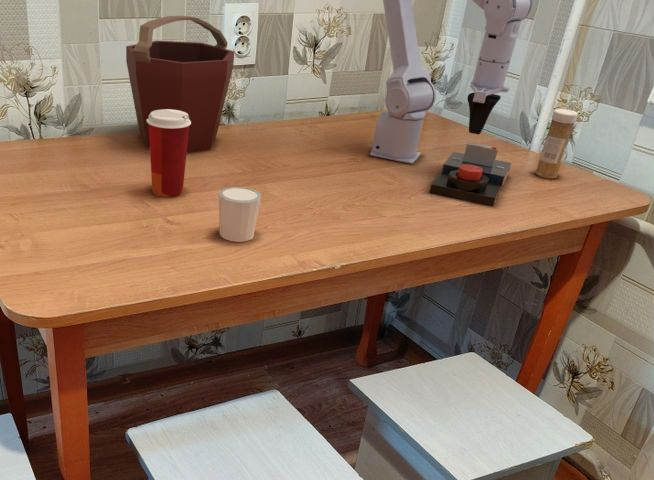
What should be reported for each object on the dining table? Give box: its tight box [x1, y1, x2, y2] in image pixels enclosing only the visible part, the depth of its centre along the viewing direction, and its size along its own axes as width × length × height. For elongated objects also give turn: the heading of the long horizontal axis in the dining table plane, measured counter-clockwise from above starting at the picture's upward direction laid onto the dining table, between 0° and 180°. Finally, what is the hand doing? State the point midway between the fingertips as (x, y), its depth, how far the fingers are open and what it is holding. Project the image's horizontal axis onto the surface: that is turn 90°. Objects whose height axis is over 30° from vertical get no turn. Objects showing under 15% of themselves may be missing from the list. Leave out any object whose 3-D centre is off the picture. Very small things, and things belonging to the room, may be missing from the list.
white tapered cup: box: [218, 186, 262, 243], centre depth 113 cm, size 7×7×7 cm
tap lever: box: [463, 141, 499, 167], centre depth 143 cm, size 6×2×4 cm, turn 63°
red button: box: [457, 164, 483, 181], centre depth 135 cm, size 4×4×2 cm
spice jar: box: [534, 108, 579, 180], centre depth 146 cm, size 5×5×14 cm
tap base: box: [441, 151, 512, 192], centre depth 145 cm, size 12×10×3 cm
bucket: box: [125, 15, 235, 153], centre depth 149 cm, size 24×22×25 cm
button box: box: [429, 170, 502, 207], centre depth 136 cm, size 12×8×4 cm, turn 63°
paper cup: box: [146, 109, 191, 198], centre depth 125 cm, size 8×8×14 cm
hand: (474, 132), depth 139 cm, fingers closed
